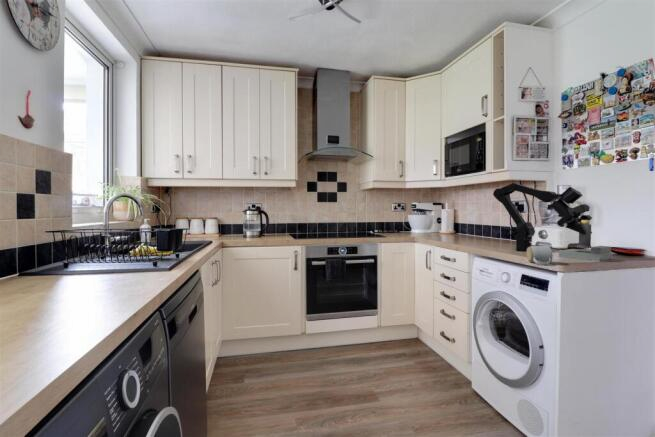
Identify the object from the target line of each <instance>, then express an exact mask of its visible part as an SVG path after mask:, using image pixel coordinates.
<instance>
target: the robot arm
mask: <svg viewBox="0 0 655 437" xmlns="http://www.w3.org/2000/svg"><path fill="white" fill-rule="evenodd" d="M515 192H519V193H522V194H526V195H529V196H531V197H535V198H536V199H538V200H539V201H542V202H544V203H551V204H547V207H546V208H547V210H548V211H549V210H550V211H552V210H554V212H556V213H557V216H558V218H560V219H558V220H557V223H556V224H557V226H558V227H560V228H566V229H570V230H571V231H574V232H576V233H578V234H579V233H581V234H584V235H585V234H586V232H585V231H584V230H583V228H582V227H581V226H580V225H579V224H581V220H590V221H591V220H592V219H593V217H592V216H591V215H590V214H583V213H586V212H590V206H589V205H588V204H585V203H584V204H579V205H577V206H574V207H571V206H569V205H570V204H572V205H573V204H574V203H575V202H577V201H578V200H579V199H580V198H581V197H583V194H582V192H580V191H579V190H577V189H575V188H573V187H572V186H568V187H567V188H566V190H565V191H564V192H562V193H557V192H555V191H549V190H541V189H536V188H533V187H530V186H526V185H523V184H520V183H517V182H512V183H510V184H508V185H505V186H502V187H501V188H495V190H493V193H492V195H493V197H494V198H495V199H496V200H497V201H498V202H499V203H501V204H502V206H504V208H505V210H506V211H507V214H509V216H510V218H512V220H513V222H514V224H515V227H516V231H517V233H516V234H514V235H513V239H514V241H515V251H517V252H527V248H528V247H531V246H532V243H531V242H530V240H531V239H532V238H533V237H534V236H535V234H536V230H535V229H536V227H535V226H534V225H533V223H532V222H531V221H530V222H529V221H528V222H527V221H525V219H524V218H523V217H522V215H521V213H520V212H519V210H518V209H517V208H516V206H515V205H514V203H513V201H512V200H511V194H513V193H515ZM582 214H583V215H582ZM565 224H566V225H565ZM592 233H593V232H592V231H591V235H592Z"/></svg>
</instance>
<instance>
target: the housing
mask: <svg viewBox="0 0 655 437" xmlns="http://www.w3.org/2000/svg"><path fill="white" fill-rule="evenodd" d="M611 247H612V246H607V245H606V246H605V245H597V246H591V248H590V250H585V249H577V248H569V249H568V248H567V249H560V250H559V251H558V252H559V253H558V257H559V258H561V257H562V258H569V259H578V260H585V261H594V262H604V261H610V260H612V252H611V250H612V249H611ZM609 259H610V260H609Z"/></svg>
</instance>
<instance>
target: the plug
mask: <svg viewBox="0 0 655 437" xmlns="http://www.w3.org/2000/svg"><path fill="white" fill-rule="evenodd" d="M590 222H591V220H581V224H579V225H580V226H581V227H582V228H583V230H584V231H585V232H586V234H585V235H584V234H581V233H579V232H578V245H577V248H581V249H582V248H583V249H584V248H585V249H591V247H592V245H591V243H592V241H591V240H592V234H591V232H592V224H590Z"/></svg>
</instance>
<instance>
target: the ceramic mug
mask: <svg viewBox="0 0 655 437" xmlns="http://www.w3.org/2000/svg"><path fill="white" fill-rule="evenodd" d="M553 256H554V254H553V250H552V248H551V246H549V245H531V247H528V248H527V251H526V259H527V261H528V262H530V263H534V264H536V265H540V266H549V265H550V264H551V263H552V262H553Z"/></svg>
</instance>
